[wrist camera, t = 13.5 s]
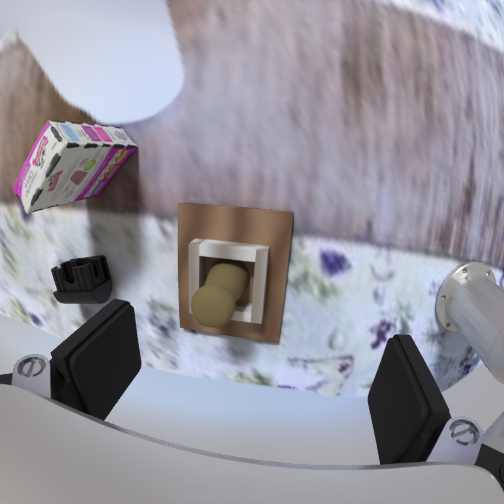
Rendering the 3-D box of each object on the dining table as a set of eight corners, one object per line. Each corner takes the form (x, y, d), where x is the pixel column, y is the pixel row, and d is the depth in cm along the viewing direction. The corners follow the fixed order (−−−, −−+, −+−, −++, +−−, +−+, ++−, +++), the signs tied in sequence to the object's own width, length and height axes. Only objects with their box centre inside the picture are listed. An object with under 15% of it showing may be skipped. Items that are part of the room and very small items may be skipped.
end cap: (78, 294, 51) (57, 309, 44) (68, 259, 49) (45, 271, 42) (117, 293, 49) (97, 309, 42) (107, 254, 47) (84, 267, 40)
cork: (257, 286, 43) (245, 325, 33) (222, 302, 45) (201, 341, 34) (237, 250, 42) (218, 279, 32) (201, 267, 44) (174, 299, 33)
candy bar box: (121, 125, 40) (48, 117, 25) (139, 146, 41) (67, 144, 25) (82, 176, 43) (10, 189, 28) (98, 197, 44) (26, 216, 29)
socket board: (293, 212, 41) (293, 217, 37) (278, 338, 46) (276, 353, 42) (181, 202, 42) (169, 206, 38) (182, 323, 48) (173, 336, 44)
